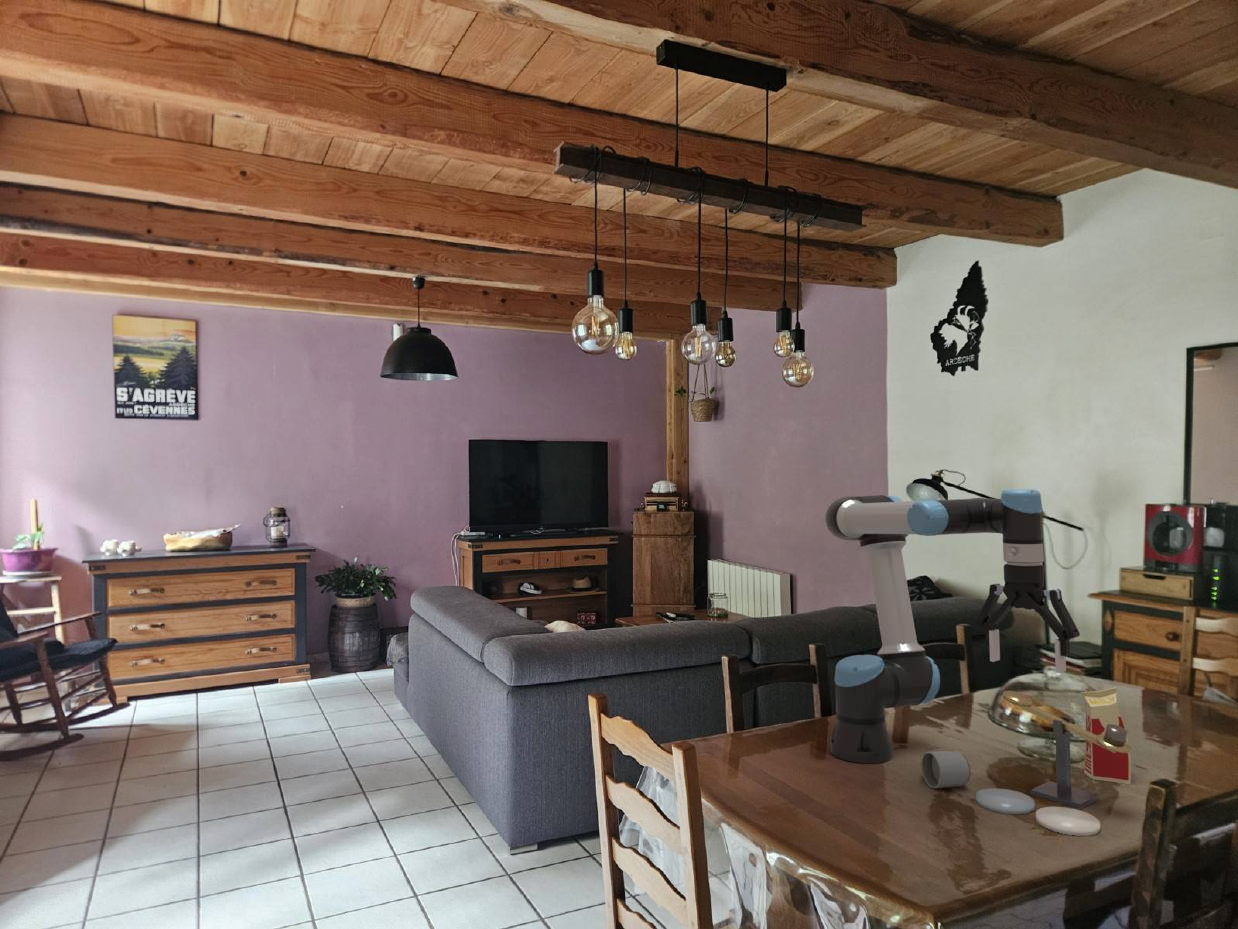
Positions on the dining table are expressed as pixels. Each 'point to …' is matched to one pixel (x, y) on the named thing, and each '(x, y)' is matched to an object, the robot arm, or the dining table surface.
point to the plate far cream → (1068, 821)
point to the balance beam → (1109, 740)
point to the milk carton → (1097, 718)
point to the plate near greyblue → (1005, 801)
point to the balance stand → (1064, 774)
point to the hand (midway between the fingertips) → (1026, 666)
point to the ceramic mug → (945, 769)
